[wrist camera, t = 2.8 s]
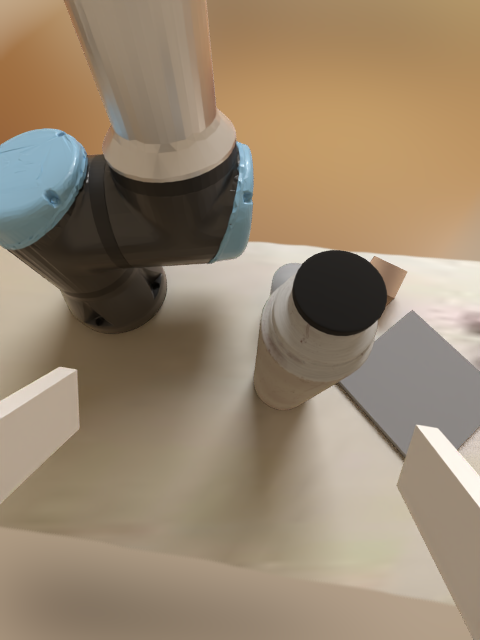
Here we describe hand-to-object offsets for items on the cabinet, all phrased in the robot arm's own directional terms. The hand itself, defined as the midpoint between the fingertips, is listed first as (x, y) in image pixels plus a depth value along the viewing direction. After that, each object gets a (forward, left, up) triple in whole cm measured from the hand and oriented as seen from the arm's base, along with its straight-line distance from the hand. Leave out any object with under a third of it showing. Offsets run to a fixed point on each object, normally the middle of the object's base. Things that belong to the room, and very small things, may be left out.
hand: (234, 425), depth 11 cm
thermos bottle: (-2, +9, -30) cm, 31 cm away
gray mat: (+10, +23, -30) cm, 38 cm away
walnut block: (-4, +29, -30) cm, 41 cm away
